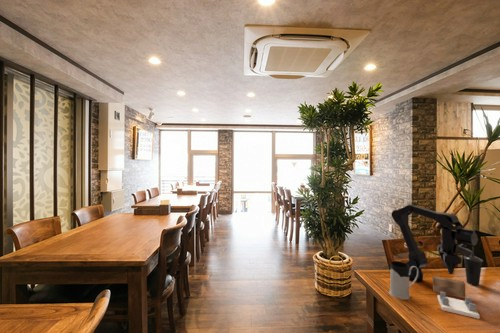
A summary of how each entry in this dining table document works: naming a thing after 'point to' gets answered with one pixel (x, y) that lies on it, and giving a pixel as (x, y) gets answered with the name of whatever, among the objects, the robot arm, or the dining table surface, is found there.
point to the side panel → (458, 305)
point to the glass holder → (400, 280)
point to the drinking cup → (473, 269)
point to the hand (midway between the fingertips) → (448, 270)
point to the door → (449, 286)
